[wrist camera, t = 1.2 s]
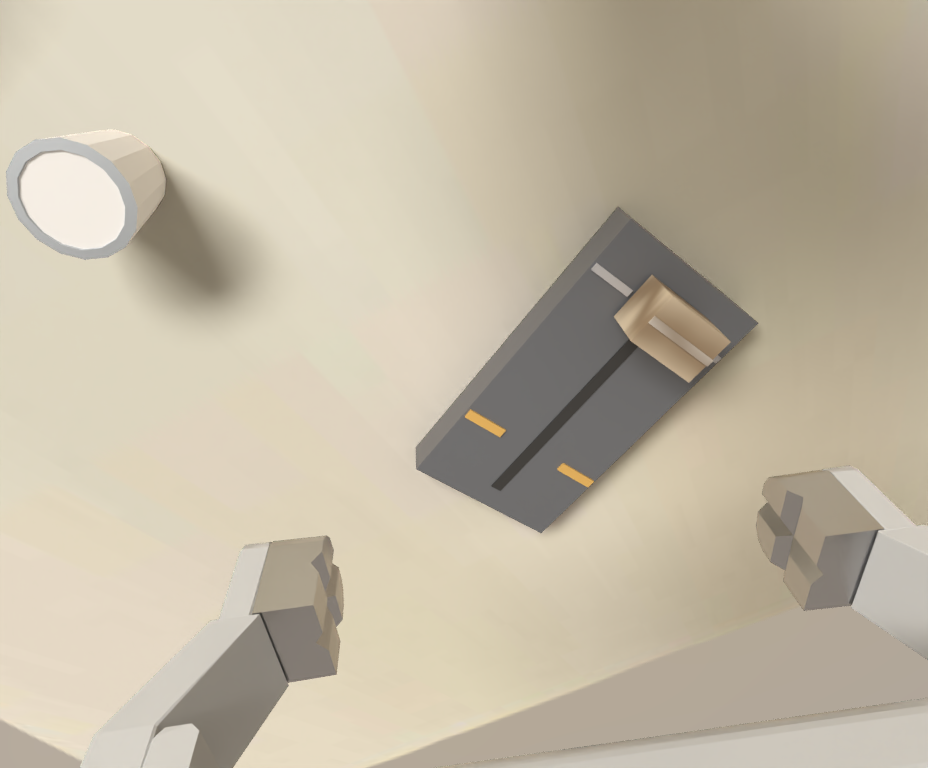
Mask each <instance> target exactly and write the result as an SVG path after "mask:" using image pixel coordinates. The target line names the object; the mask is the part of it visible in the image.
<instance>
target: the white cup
mask: <svg viewBox="0 0 928 768" xmlns="http://www.w3.org/2000/svg"><path fill="white" fill-rule="evenodd" d="M6 179H7V196H8V198H9V200H10V203H11V205H12V207H13V209H14V211H15V213H16V215H17V218H18V219H19V221H20V222H21V223H22V224H23V225H24V226H25V227H26V228H27V229H28V230H29V231H30V232H31V234H32V235H33V236H34V237H35V238H36V239H37V240H39V241H40V242H42V243H44V244H45V245H47V246H49V247H50V248H52V249H54V250H56V251H57V252H59V253H61V254H65V255H69V256H73V257H77V258H81V259H85V260H86V259H96V258H106V257H109V256H111V255H113V254H114V253H116V252H118V251H120V250H121V249H123V248H125V247H126V246H127V245H128V244H129V242H130V241H131V240H132V239H133V237H134V236H135V235H136V234H137V232H138V231H139V230H140V229H141V227H142V226H143V225H144V224H145V222H146V221H147V220H148V219H149V217H150V216H151V215H152V214H153V212H154V211H155V210H156V209H157V207H158V206H159V204H160V202H161V201H162V199H163V197H164V196H165V188H166V177H165V174H164V171H163V168H162V165H161V162H160V160H159V159H158V158H157V156H156V155H155V154H154V152H153V151H152V150H151V148H150V147H149V146H148V145H146V144H145V143H143V142H142V141H141V140H139V139H138V138H136V137H135V136H134V135H132V134H128V133H125V132H122V131H118V130H115V129H112V130H101V131H93V132H85V133H78V134H71V135H64V136H57V137H50V138H43V139H36V140H33V141H32V142H30V143H29V144H27V145H26V146H24V147H23V148H21V149H19V150H18V151H16V152H15V154H14V157H13V159H12V161H11V163H10V165H9V167H8V169H7V171H6Z"/></svg>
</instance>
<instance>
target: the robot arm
mask: <svg viewBox="0 0 928 768" xmlns="http://www.w3.org/2000/svg"><path fill="white" fill-rule="evenodd" d="M762 495H763V496H764V497H765V499H766V500H767V501H768V502H767V503H766V504H765V505H764V506H763V507H762V508H761V509H760V510H759V511H758V515H757V522H756V529H757V535H758V540H759V543H760V545H761V547H762V550H763V552H764V553H765V555H766V556H767V558H768V559H769V561H770V562H771V563H773V564H775V565H777V566H778V567H780V568H782V569H784V570H785V572H784V578H783V582H784V583H785V584H786V586H787V587H788V589H789V590H790V592H791V593H792V595H793V596H794V597H795V599H796V600H797V602H798V603H799V605H800V606H801V608H802V609H803V610H804V611H805V610H814V609H823V608H832V607H842V606H851V605H852V607H851V608H852V609H853V610H855V611H857V612H858V613H859V614H861V615H862V616H864V617H865V618H867V619H868V620H870V621H871V622H873V623H874V624H876V625H877V626H878V627H880V628H881V629H883V630H885V631H886V632H887V633H889V634H890V635H892V636H893V637H895V638H896V639H898V640H899V641H900V642H902V643H903V644H905V645H906V646H908V647H909V648H911V649H912V650H914V651H915V652H917V653H918V654H920V655H921V656H923V657H924V658H925V659H927V660H928V526H927V525H918V526H916V525H915V524H914V523H913V522H912V521H911V520H910V519H909V518H908V517H907V516H906V515H905V514H904V513H903V512H902V511H901V510H900V509H899V508H898V507H897V506H895V505H894V504H893V503H892V502H891V501H890V500H889V499H888V498H887V497H886V496H885V495H884V494H883V493H882V492H881V491H880V490H879V489H878V488H877V487H876V486H875V485H874V484H873V483H872V482H871V481H870V480H869V479H868V478H867V477H866V476H865V475H864V474H863V473H862V472H860V471H859V470H858V469H857V468H855V467H852V466H843V467H836V468H829V469H823V470H816V471H809V472H802V473H795V474H788V475H781V476H774V477H769V478H768V479H767V480H766V482H765V483H764V486H763V491H762ZM333 552H334V550H333V547H332V544H331V540H330V537H328V536H318V537H308V538H299V539H290V540H280V541H273V542H268V543H258V544H248V545H245V546H244V547H243V548H242V550H241V551H240V553H239V556H238V559H237V562H236V566H235V569H234V572H233V575H232V578H231V581H230V585H229V588H228V591H227V594H226V597H225V601H224V604H223V607H222V610H221V613H220V616H219V619H217V620H211V621H209V622H208V623H207V624H206V625H205V626H204V627H203V628H202V629H201V630H200V631H199V632H198V633H197V634H196V635H195V636H194V637H193V638H192V639H191V640H190V641H189V642H188V643H187V644H186V645H185V646H184V647H183V648H182V649H181V650H180V651H179V652H178V653H177V654H176V655H175V656H174V657H173V658H172V659H170V660H169V661H168V662H167V663H166V664H165V665H164V666H163V667H162V668H161V669H160V670H159V671H158V672H157V673H156V674H155V675H154V676H153V677H152V678H151V679H150V680H149V681H148V682H147V683H146V684H145V685H144V686H143V687H142V688H141V689H140V690H139V691H138V692H137V693H136V694H135V695H134V696H133V697H132V698H131V699H130V700H129V701H128V702H127V703H126V704H125V705H124V706H123V707H122V708H120V709H119V710H118V711H117V712H116V713H115V714H114V715H113V716H112V717H111V718H110V719H109V720H108V721H107V722H106V723H105V724H104V725H103V726H102V727H101V728H100V729H99V730H98V731H97V732H96V733H95V734H94V736H93V738H92V740H91V743H90V745H89V747H88V750H87V752H86V754H85V756H84V759H83V761H82V763H81V765H80V768H233V767H234V765H235V764H236V762H237V761H238V759H239V758H240V756H241V755H242V754H243V752H244V751H245V749H246V748H247V746H248V745H249V743H250V742H251V740H252V739H253V737H254V736H255V734H256V733H257V731H258V730H259V728H260V727H261V726H262V724H263V723H264V721H265V720H266V718H267V717H268V715H269V714H270V712H271V711H272V709H273V708H274V706H275V705H276V703H277V702H278V700H279V699H280V698H281V696H282V695H283V693H284V692H285V690H286V689H287V687H288V686H289V685H288V683H289V682H295V681H301V680H307V679H313V678H319V677H325V676H331V675H337V667H338V658H339V649H340V638H339V635H338V632H337V628H336V627H337V625H338V624H339V623H340V622H341V621H342V619H343V608H344V597H343V584H342V578H341V574H340V570H339V567H337V566H336V565H334V564H333V563H332V560H333ZM436 768H928V698H923V699H917V700H909V701H902V702H895V703H888V704H881V705H873V706H866V707H859V708H852V709H845V710H839V711H832V712H824V713H818V714H810V715H803V716H796V717H789V718H783V719H775V720H768V721H761V722H754V723H747V724H740V725H734V726H726V727H719V728H712V729H705V730H698V731H691V732H684V733H677V734H670V735H663V736H656V737H649V738H642V739H635V740H627V741H620V742H613V743H606V744H599V745H591V746H584V747H577V748H571V749H563V750H556V751H549V752H542V753H534V754H527V755H521V756H513V757H507V758H499V759H492V760H485V761H478V762H471V763H464V764H457V765H449V766H442V767H436Z"/></svg>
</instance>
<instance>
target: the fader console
mask: <svg viewBox="0 0 928 768" xmlns="http://www.w3.org/2000/svg"><path fill="white" fill-rule="evenodd" d="M651 275H653V276H655V277H656V278H657V279H658V280H660V281H661V282H662V283H663V284H665V285H666V286H667V287H668V288H670V289H671V290H672V291H674V292H675V293H676V294H677V295H679V296H680V297H681V298H682V299H684V300H685V301H686V302H687V303H689V304H690V305H691V306H693V307H694V308H695V309H696V310H698V311H699V312H700V313H701V314H703V315H704V316H705V317H706V318H708V319H709V320H710V321H711V322H712V323H713V324H714V325H715V326H716V327H717V328H718V329H719V330H720V331H721V332H722V333H723V334H724V335H725V336H726V337H727V338H728V339H729V340H730V341H731V342H730V343H729V344H728V345H727V346H726V347H725V348H724V349H723V350H722V351H721V352H720V353H719V354H718V355H717V356H716V357H715V358H714V359H713V360H714V361H713V362H712V363H711V364H710V365H709V366H708V367H707V366H706V367H705V368H704V369H703V370H702V371H701V372H700V373H699V374H698V375H697V376H695V377H694V378H693V379H692V380H691V381H690V382H689V383H688V382H687V381H686V380H684V379H683V378H681V377H680V376H679V375H677V374H676V373H675V372H673V371H672V370H670V369H669V368H668V367H666V366H665V365H663V364H662V363H661V362H659V361H658V360H656V359H655V358H654V357H652V356H651V355H649V354H648V353H647V352H645V351H644V350H642V349H641V348H640V347H638V346H637V345H636V344H634V343H633V342H631V341H630V339H629V338H628V336H627V335H626V334H625V332H624V331H623V329H622V328H621V326H620V325H619V323H618V322H617V321H616V319H615V318H614V316H615V315H616V313H617V312H618V311H619V310H620V309H621V308H622V307H623V306H624V305H625V304H626V302H627V301H628V300H629V299H630V298H631V297H632V296H633V295H634V294H635V293H636V291H637V290H638V289H639V288H640V287H641V286H642V285H643V284H644V283H645V282H646V280H647V279H648V278H649V277H650V276H651ZM757 324H758V323H757V322H756V321H755V320H754V319H753V318H752V317H751V316H749V315H748V314H747V313H746V312H745V311H744V310H742V309H741V308H740V307H739V306H738V305H737V304H735V303H734V302H733V301H732V300H730V299H729V298H728V297H727V296H726V295H724V294H723V293H722V292H721V291H720V290H718V289H717V288H716V287H715V286H714V285H712V284H711V283H710V282H709V281H707V280H706V279H705V278H704V277H703V276H701V275H700V274H699V273H698V272H697V271H695V270H694V269H693V268H692V267H690V266H689V265H688V264H687V263H686V262H684V261H683V260H682V259H681V258H680V257H678V256H677V255H676V254H675V253H673V252H672V251H671V250H670V249H669V248H667V247H666V246H665V245H664V244H663V243H661V242H660V241H659V240H658V239H657V238H655V237H654V236H653V235H652V234H650V233H649V232H648V231H647V230H646V229H644V228H643V227H642V226H641V225H640V224H638V223H637V222H636V221H635V220H633V219H632V218H631V217H630V216H629V215H627V214H626V213H625V212H624V211H623V210H621V209H620V208H619V207H617V208H616V210H615V211H614V212H613V213H612V214H611V216H610V217H609V218H608V219H607V220H606V222H605V223H604V224H603V225H602V226H601V228H600V229H599V230H598V231H597V232H596V234H595V235H594V236H593V237H592V238H591V239H590V241H589V242H588V243H587V244H586V245H585V247H584V248H583V249H582V250H581V251H580V253H579V254H578V255H577V256H576V257H575V259H574V260H573V261H572V262H571V263H570V264H569V266H568V267H567V268H566V269H565V270H564V272H563V273H562V274H561V275H560V276H559V278H558V279H557V280H556V281H555V282H554V284H553V285H552V286H551V287H550V288H549V290H548V291H547V292H546V293H545V294H544V295H543V297H542V298H541V299H540V300H539V301H538V303H537V304H536V305H535V306H534V307H533V309H532V310H531V311H530V312H529V313H528V315H527V316H526V317H525V318H524V319H523V320H522V322H521V323H520V324H519V325H518V326H517V328H516V329H515V330H514V331H513V332H512V334H511V335H510V336H509V337H508V338H507V340H506V341H505V342H504V343H503V344H502V345H501V347H500V348H499V349H498V350H497V351H496V353H495V354H494V355H493V356H492V357H491V359H490V360H489V361H488V362H487V363H486V365H485V366H484V367H483V368H482V369H481V371H480V372H479V373H478V374H477V375H476V376H475V378H474V379H473V380H472V381H471V382H470V384H469V385H468V386H467V387H466V388H465V390H464V391H463V392H462V393H461V394H460V396H459V397H458V398H457V399H456V400H455V401H454V403H453V404H452V405H451V406H450V407H449V409H448V410H447V411H446V412H445V413H444V415H443V416H442V417H441V418H440V419H439V421H438V422H437V423H436V424H435V425H434V427H433V428H432V429H431V430H430V431H429V432H428V434H427V435H426V436H425V437H424V438H423V440H422V441H421V442H420V443H419V444H418V446H417V447H416V469H417V470H419V471H421V472H423V473H425V474H427V475H429V476H431V477H433V478H435V479H437V480H439V481H440V482H442V483H444V484H446V485H448V486H450V487H452V488H454V489H456V490H458V491H460V492H462V493H464V494H466V495H468V496H470V497H472V498H474V499H476V500H478V501H480V502H481V503H483V504H485V505H487V506H489V507H491V508H493V509H495V510H497V511H499V512H501V513H503V514H505V515H507V516H509V517H511V518H513V519H515V520H517V521H519V522H521V523H522V524H524V525H526V526H528V527H530V528H532V529H534V530H536V531H538V532H540V533H542V532H543V531H544V530H545V529H546V528H547V527H548V526H549V525H550V524H551V523H552V522H553V521H554V520H555V519H556V518H557V517H558V516H559V515H561V514H562V513H563V512H564V511H565V510H566V509H567V508H568V507H569V506H570V505H571V504H572V503H573V502H574V501H575V500H576V499H577V498H578V497H579V496H580V495H581V494H582V493H583V492H584V491H585V490H586V489H587V488H588V487H589V486H591V485H592V484H593V483H594V482H595V481H596V480H597V479H598V478H599V477H600V476H601V475H602V474H603V473H604V472H605V471H606V470H607V469H608V468H609V467H610V466H611V465H612V464H613V463H614V462H615V461H616V460H617V459H618V458H619V457H621V456H622V455H623V454H624V453H625V452H626V451H627V450H628V449H629V448H630V447H631V446H632V445H633V444H634V443H635V442H636V441H637V440H638V439H639V438H640V437H641V436H642V435H643V434H644V433H645V432H646V431H647V430H648V429H649V428H651V427H652V426H653V425H654V424H655V423H656V422H657V421H658V420H659V419H660V418H661V417H662V416H663V415H664V414H665V413H666V412H667V411H668V410H669V409H670V408H671V407H672V406H673V405H674V404H675V403H676V402H677V401H678V400H679V399H681V398H682V397H683V396H684V395H685V394H686V393H687V392H688V391H689V390H690V389H691V388H692V387H693V386H694V385H695V384H696V383H697V382H698V381H699V380H700V379H701V378H702V377H703V376H704V375H705V374H706V373H707V372H708V371H709V370H710V369H712V368H713V367H714V366H715V365H716V364H717V363H718V362H719V361H720V360H721V359H722V358H723V357H724V356H725V355H726V354H727V353H728V352H729V351H730V350H731V349H732V348H733V347H734V346H735V345H736V344H737V343H738V342H739V341H740V340H742V339H743V338H744V337H745V336H746V335H747V334H748V333H749V332H750V331H751V330H752V329H753V328H754V327H755V326H756V325H757Z"/></svg>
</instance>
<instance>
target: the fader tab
mask: <svg viewBox="0 0 928 768" xmlns="http://www.w3.org/2000/svg"><path fill="white" fill-rule="evenodd" d="M614 318H615V319H616V321H617V322H618V323H619V325H620V326H621V328H622V329H623V331H624V332H625V334H626V335H627V336H628V338H629V339H630V341H631V342H633V343H634V344H636V345H637V346H638V347H640V348H641V349H642V350H644V351H645V352H647V353H648V354H649V355H651V356H652V357H654V358H655V359H656V360H658V361H659V362H661V363H662V364H663V365H665V366H666V367H668V368H669V369H670V370H672V371H673V372H675V373H676V374H677V375H679V376H680V377H681V378H683V379H684V380H686V381H687V382H688V383H689V382H690V381H691V380H692V379H693V378H694V377H695V376H697V375H698V374H699V373H700V372H701V371H702V370H703V369H704V368H705V367H706V366H707V367H708V366H709V365H710V364H711V363H712V362H713V361H714V360H713V359H714V358H715V357H716V356H717V355H718V354H719V353H720V352H721V351H722V350H723V349H724V348H725V347H726V346H727V345H728V344H729V343H730V342H731V341H730V340H729V339H728V338H727V337H726V336H725V335H724V334H723V333H722V332H721V331H720V330H719V329H718V328H717V327H716V326H715V325H714V324H713V323H712V322H711V321H710V320H709V319H708V318H706V317H705V316H704V315H703V314H701V313H700V312H699V311H698V310H696V309H695V308H694V307H693V306H691V305H690V304H689V303H687V302H686V301H685V300H684V299H682V298H681V297H680V296H679V295H677V294H676V293H675V292H674V291H672V290H671V289H670V288H668V287H667V286H666V285H665V284H663V283H662V282H661V281H660V280H658V279H657V278H656V277H655V276H653V275H651V276H650V277H649V278H648V279H647V280H646V282H645V283H644V284H643V285H642V286H641V287H640V288H639V289H638V290H637V291H636V293H635V294H634V295H633V296H632V297H631V298H630V299H629V300H628V301H627V302H626V304H625V305H624V306H623V307H622V308H621V309H620V310H619V311H618V312H617V313H616V315H615V316H614Z"/></svg>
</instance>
